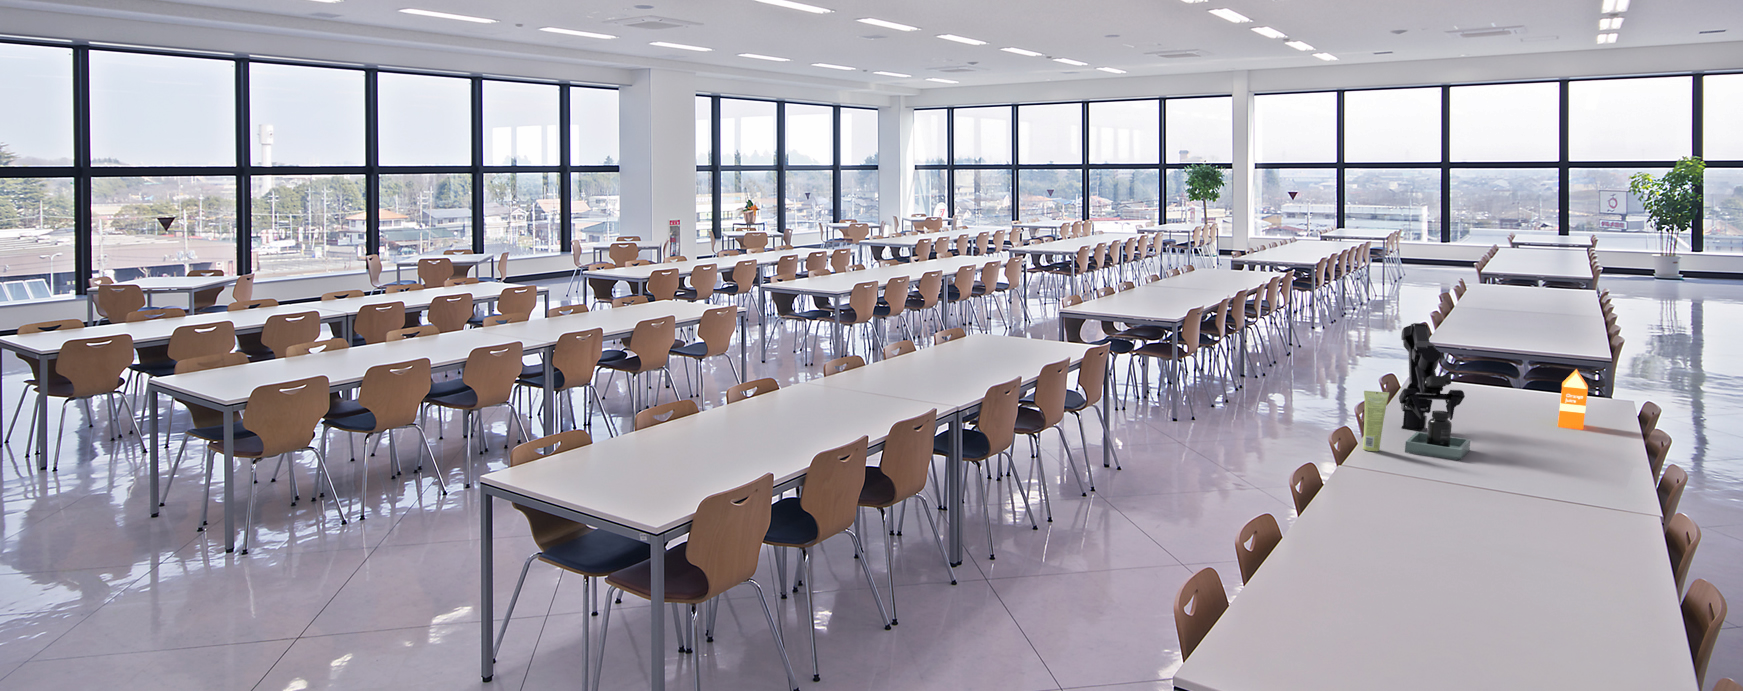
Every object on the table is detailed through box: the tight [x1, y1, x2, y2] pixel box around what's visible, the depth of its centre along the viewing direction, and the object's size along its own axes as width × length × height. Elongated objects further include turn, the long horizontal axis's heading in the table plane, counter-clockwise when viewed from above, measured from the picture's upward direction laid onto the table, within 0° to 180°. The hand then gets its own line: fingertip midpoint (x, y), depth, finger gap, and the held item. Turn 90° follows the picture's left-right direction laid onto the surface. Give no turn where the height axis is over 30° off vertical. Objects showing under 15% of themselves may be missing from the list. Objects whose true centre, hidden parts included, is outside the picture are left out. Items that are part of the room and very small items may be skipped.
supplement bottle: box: [1426, 410, 1452, 447], centre depth 350 cm, size 7×7×12 cm
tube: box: [1362, 390, 1390, 452], centre depth 351 cm, size 6×5×20 cm
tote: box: [1404, 431, 1472, 461], centre depth 351 cm, size 16×16×4 cm
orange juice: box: [1557, 368, 1589, 431], centre depth 383 cm, size 8×9×20 cm
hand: (1436, 418), depth 353 cm, fingers open, 9 cm apart
